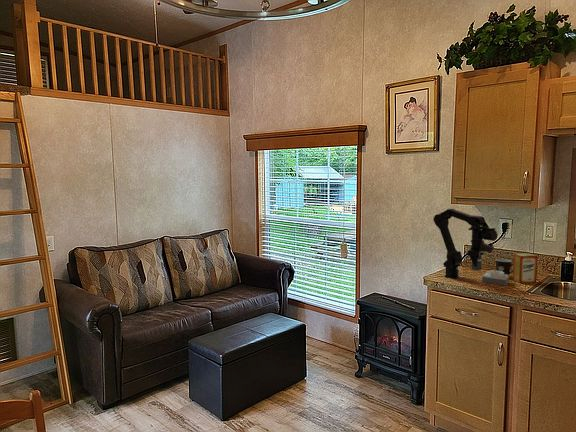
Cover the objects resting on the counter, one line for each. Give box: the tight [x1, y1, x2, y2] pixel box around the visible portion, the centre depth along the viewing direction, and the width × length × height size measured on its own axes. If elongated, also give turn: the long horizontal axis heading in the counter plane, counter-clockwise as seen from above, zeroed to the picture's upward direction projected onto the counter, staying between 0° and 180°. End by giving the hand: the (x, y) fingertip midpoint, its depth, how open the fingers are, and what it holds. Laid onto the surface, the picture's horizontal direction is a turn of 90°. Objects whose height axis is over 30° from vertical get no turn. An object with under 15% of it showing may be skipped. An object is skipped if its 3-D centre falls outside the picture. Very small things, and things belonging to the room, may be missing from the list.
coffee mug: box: [494, 258, 514, 276], centre depth 245 cm, size 12×9×10 cm
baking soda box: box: [512, 253, 539, 284], centre depth 234 cm, size 10×6×16 cm
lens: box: [471, 256, 483, 271], centre depth 233 cm, size 5×5×7 cm
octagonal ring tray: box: [481, 269, 510, 286], centre depth 234 cm, size 12×9×6 cm
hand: (476, 265), depth 233 cm, fingers closed on lens, 5 cm apart
